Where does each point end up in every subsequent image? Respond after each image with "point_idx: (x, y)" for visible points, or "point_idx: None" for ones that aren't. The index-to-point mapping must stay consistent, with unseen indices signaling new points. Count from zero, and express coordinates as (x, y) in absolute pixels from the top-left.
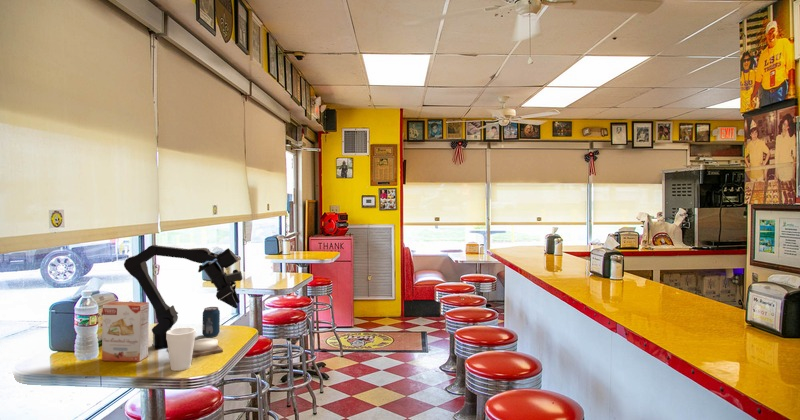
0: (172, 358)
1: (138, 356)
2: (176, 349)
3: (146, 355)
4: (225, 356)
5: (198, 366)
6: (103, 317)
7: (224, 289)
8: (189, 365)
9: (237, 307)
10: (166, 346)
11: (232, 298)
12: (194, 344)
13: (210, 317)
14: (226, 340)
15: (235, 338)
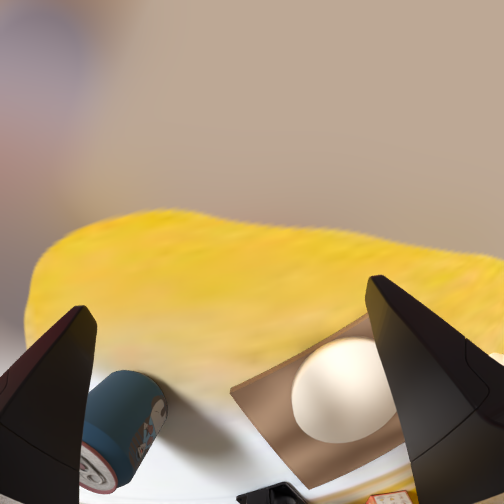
0: None
1: (409, 500)
2: None
3: (379, 497)
4: (438, 271)
5: (494, 331)
6: None
7: None
8: (501, 354)
9: (379, 278)
10: (294, 493)
11: (498, 375)
12: (376, 421)
13: (137, 449)
14: (214, 322)
15: (184, 285)
